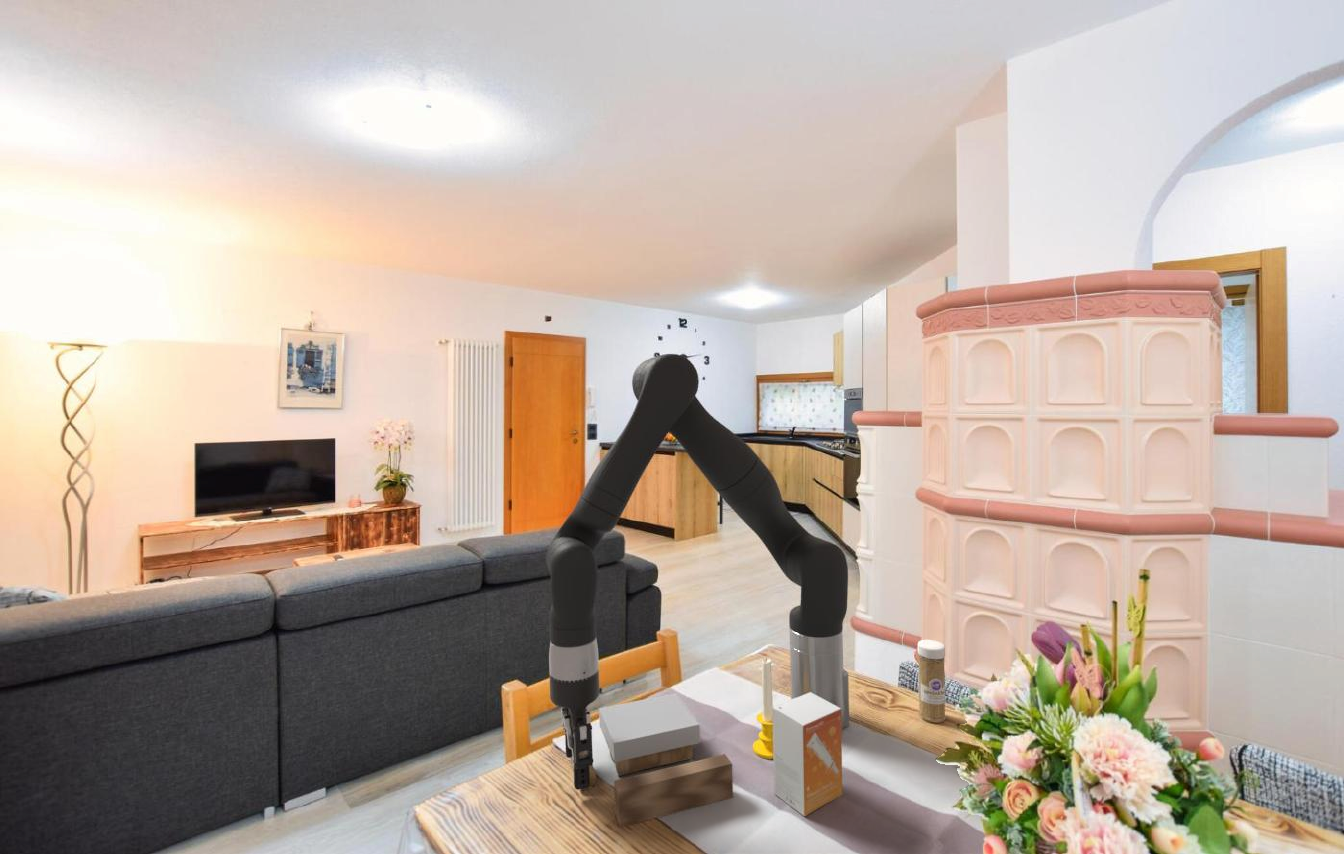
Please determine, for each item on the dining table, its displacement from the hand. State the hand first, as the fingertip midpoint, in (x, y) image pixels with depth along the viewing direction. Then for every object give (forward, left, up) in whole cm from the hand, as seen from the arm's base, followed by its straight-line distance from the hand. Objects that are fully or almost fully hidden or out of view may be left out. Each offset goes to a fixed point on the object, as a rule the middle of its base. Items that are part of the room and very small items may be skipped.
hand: (577, 770), depth 90 cm
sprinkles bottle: (-63, +6, -2) cm, 63 cm away
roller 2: (-12, +1, -1) cm, 12 cm away
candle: (-31, +4, -2) cm, 31 cm away
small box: (-31, +16, -2) cm, 35 cm away
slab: (-12, -2, +2) cm, 12 cm away
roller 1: (0, 0, -1) cm, 1 cm away
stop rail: (-12, +11, -1) cm, 17 cm away
